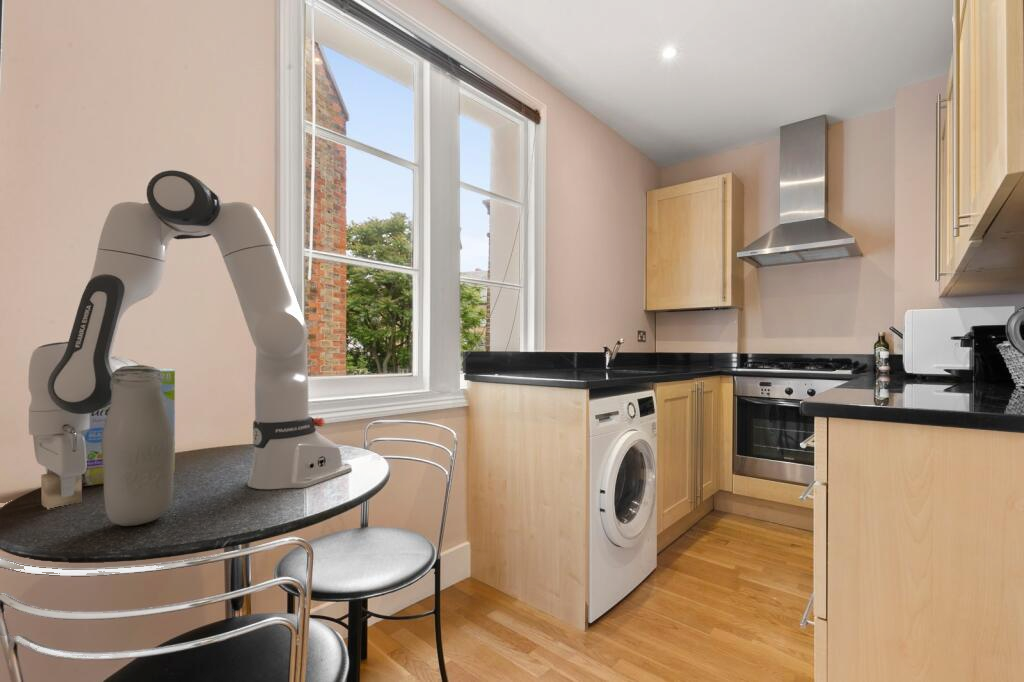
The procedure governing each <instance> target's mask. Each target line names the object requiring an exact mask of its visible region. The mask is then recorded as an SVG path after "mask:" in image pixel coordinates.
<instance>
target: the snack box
mask: <svg viewBox="0 0 1024 682" xmlns="http://www.w3.org/2000/svg"><path fill="white" fill-rule="evenodd" d="M157 369H158V370H160V375H161V380H162V386H161V389H160V391H161V395H162V398H163V401H164V406H165V408H166V412H167V414H168V416H169V418H170V422H171V425H172V430H173V474H175V473H174V472H176V471H175V470H176V466H175V464H176V457H175V456H176V454H175V453H176V449H175V448H176V444H175V442H176V432H175V431H176V409H175V408H176V399H175V397H176V394H175V393H176V392H175V391H176V389H175V387H176V386H175V385H176V378H175V377H176V370H175V369H174V368H157ZM109 408H110V406H108V407H105V408H102V409H100V410H97V411H95V412H92V413H89V415H90V428H89V429H87V430H83V431H82V433H81V434H82V435H83V437H84V439H85V446H86V461H87V468H86V472H85V473H84V474H82V487H89V486H95V485H104V472H103V459H102V449H101V448H102V445H101V444H102V433H103V429H104V425H105V422H106V418H107V415H108V411H109Z"/></svg>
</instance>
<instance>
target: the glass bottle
mask: <svg viewBox="0 0 1024 682" xmlns="http://www.w3.org/2000/svg"><path fill="white" fill-rule="evenodd" d="M158 369H159V368H156V367H154V366H149V365H142V364H139V365H134V366H123V367H121V368H119V369H117V370H115V371H114V372H113V373H112V376H111V381H110V389H111V391H112V392H111V394H112V396H111V406H110V408H109V411H108V415H107V418H106V422H105V425H104V429H103V433H102V444H101V445H102V448H101V449H102V459H103V472H104V484H103V501H104V502H103V503H104V508H105V515H106V516H107V517H108V519H109V521H111V523H113V524H115V525H118V526H122V527H129V526H130V527H131V526H139V525H144V524H149V523H150V522H153V521H155V520H158V519H159V518H161V517H162V516H164V515H165V514H166V513H167V512H168V511H169V510H170V507H171V505H172V504H173V500H174V473H173V430H172V425H171V422H170V418H169V416H168V414H167V412H166V408H165V406H164V401H163V398H162V395H161V391H160V389H161V386H162V380H161V375H160V370H158Z"/></svg>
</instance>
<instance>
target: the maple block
mask: <svg viewBox="0 0 1024 682" xmlns="http://www.w3.org/2000/svg"><path fill="white" fill-rule="evenodd" d="M40 480H41V482H40V483H41V484H40V485H41V488H40V489H41V492H40V493H41V506H43V508H45V507H46V508H47V509H46V508H45V509H46V510H51V509H50V508H53V509H55V508H54V507H58V506H62V507H65V506H64V505H67V506H70V505H69V504H71V505H75V504H74V503H76V504H79V503H78V502H81V503H83V491H82V490H83V486H82V474H81V475H76V481H75V484H74V494H73V495H71V496H67V497H62V496H61V495H60V487H61V480H60V476H59V475H57V474H56V473H49V474H47V473H43V474H41V476H40ZM58 508H59V507H58Z"/></svg>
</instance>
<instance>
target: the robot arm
mask: <svg viewBox="0 0 1024 682" xmlns="http://www.w3.org/2000/svg"><path fill="white" fill-rule="evenodd" d="M146 198H147V199H146V200H147V203H141V202H137V201H136V202H135V201H124V202H123V201H122V202H118V203H117V204H115V205H113V206H112V207H111V208H110V209H109V211H108V214H107V216H106V218H105V221H104V223H103V226H102V230H101V232H100V236H99V241H98V244H97V250H96V256H95V260H94V263H93V269H92V273H91V275H90V278H89V280H88V282H87V284H86V286H85V288H84V290H83V292H82V295H81V297H80V301H79V305H78V307H77V310H76V315H75V318H74V322H73V325H72V328H71V332H70V336H69V339H68V341H63V342H61V341H60V342H53V343H47V344H44V345H43V344H42V345H41V346H39V347H36V348H35V349H34V350H33V352H32V353H31V356H30V360H29V367H28V379H27V380H28V381H27V382H28V386H27V387H28V391H29V393H30V396H31V397H30V398H31V400H30V404H29V407H28V434H29V435H30V436H32V439H33V440H32V441H33V448H34V456H35V459H36V462H37V463H38V465H40V466H42V467H44V468H45V474H49V473H56V474H57V475H59V476H60V480H61V487H60V495H61V496H62V497H67V496H71V495H73V494H74V484H75V481H76V475H81V474H84V473H85V472H86V468H87V461H86V446H85V439H84V437H83V435H82V434H81V433H82V431H83V430H87V429H89V428H90V415H89V413H92V412H95V411H97V410H100V409H102V408H105V407H108V406H111V396H112V394H111V392H112V391H111V389H110V381H111V376H112V373H113V372H114V371H115V370H117V369H119V368H121V367H123V366H134V365H140V364H139V363H137V362H136V361H134V360H132V359H128V358H126V357H125V358H124V357H121V356H115V355H112V351H113V348H114V344H115V341H116V336H117V332H118V329H119V325H120V322H121V319H122V317H123V315H124V314H125V312H127V311H128V310H129V308H130V307H132V306H133V305H135V304H136V303H138V302H140V301H143V300H144V299H147V298H148V297H150V296H152V295H153V294H154V293H155V292H156V291H157V290H158V288H159V286H160V284H161V281H162V278H163V275H164V271H165V264H166V257H167V256H166V255H167V250H168V246H169V244H170V242H171V240H173V239H175V240H188V239H190V240H191V239H202V238H208V237H211V236H212V237H213V239H214V240H215V241H216V242H215V243H216V244H217V246H218V249H219V251H220V254H221V257H222V259H223V261H224V264H225V266H226V269H227V272H228V275H229V277H230V279H231V282H232V285H233V287H234V290H235V294H236V295H237V298H238V302H239V305H240V308H241V312H242V314H243V316H244V320H245V322H246V325H247V327H248V328H247V329H248V332H249V334H250V337H251V340H252V342H253V344H254V346H255V375H254V415H255V416H254V417H255V418H254V420H253V422H252V443H253V447H254V448H253V449H254V450H253V459H252V464H251V472H250V475H249V478H248V482H247V486H248V487H249V488H252V489H256V490H257V489H258V490H280V489H289V488H290V489H292V488H293V489H294V488H295V489H296V488H297V489H299V488H307V487H311V486H313V485H316V484H319V483H322V482H325V481H327V480H329V479H333V478H336V477H338V476H341V475H344V474H346V473H349V472H351V471H352V470H353V469H352V465H351V464H349V463H347V462H344V461H343V459H342V454H341V449H340V447H339V446H338V445H337V444H336V443H334V442H333V441H332V440H330V439H329V438H327V437H325V436H324V435H322V434H321V433H319V432H317V429H316V427H320V428H321V427H324V425H325V424H326V422H325V421H326V420H325V419H324V418H322V417H315V418H313V417H312V416H310V415H309V377H308V376H309V369H308V368H309V367H308V337H309V331H308V327H307V323H306V321H305V319H304V316H303V314H302V311H301V309H300V306H299V303H298V301H297V297H296V295H295V292H294V290H293V287H292V284H291V283H290V279H289V276H288V274H287V272H286V269H285V266H284V263H283V261H282V258H281V255H280V253H279V249H278V248H277V245H276V242H275V240H274V237H273V235H272V232H271V230H270V228H269V227H268V225H267V223H266V221H265V219H264V217H263V216H262V215H261V213H260V211H259V210H258V208H256V207H255V206H254V205H252V204H250V203H248V202H243V201H235V202H234V201H233V202H226V203H225V202H222V201H221V199H220V196H218V194H216V193H215V192H214V191H213V190H211V189H210V188H209V187H208V186H207V185H206V184H205V183H204V182H203V181H202V180H200V179H198V178H197V177H195V176H193V175H192V174H190V173H187V172H185V171H180V170H175V169H174V170H173V169H171V170H165V171H161V172H159V173H157V174H155V175H154V176H153V177H152V178H151V179H150V180H149V182H148V184H147V187H146Z"/></svg>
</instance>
